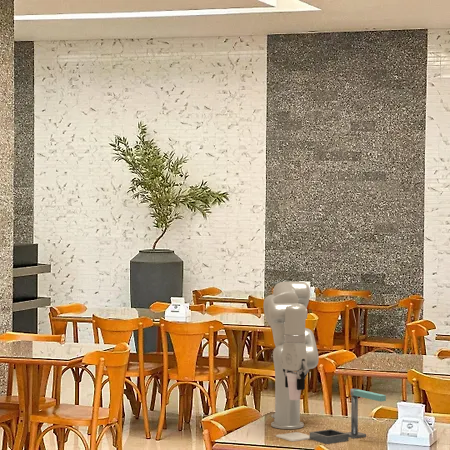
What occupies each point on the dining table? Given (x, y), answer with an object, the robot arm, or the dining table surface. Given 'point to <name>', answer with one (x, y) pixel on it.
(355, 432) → the post
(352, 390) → the teal bar
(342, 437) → the dark grey square tray
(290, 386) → the smoothie
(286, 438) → the coaster pad
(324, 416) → the dining table surface
